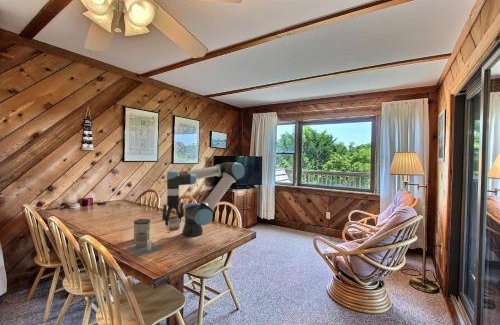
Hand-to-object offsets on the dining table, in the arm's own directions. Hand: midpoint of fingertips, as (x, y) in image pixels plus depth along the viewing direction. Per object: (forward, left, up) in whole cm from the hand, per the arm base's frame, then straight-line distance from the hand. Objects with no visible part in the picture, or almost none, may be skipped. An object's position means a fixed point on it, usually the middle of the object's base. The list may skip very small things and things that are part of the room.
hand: (173, 228), depth 171 cm
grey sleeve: (+19, -6, -9) cm, 21 cm away
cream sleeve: (0, 0, 0) cm, 0 cm away
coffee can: (+14, -18, -10) cm, 25 cm away
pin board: (+19, 0, -10) cm, 21 cm away
